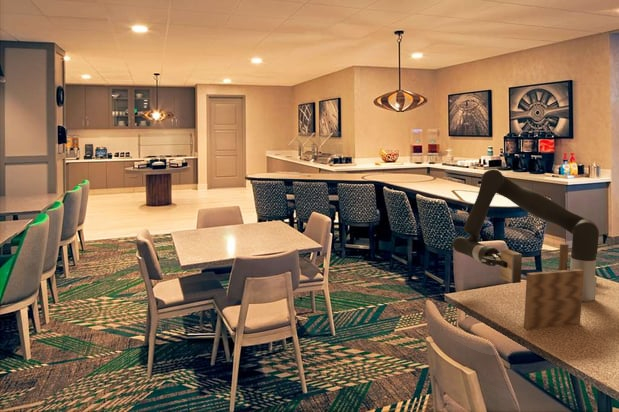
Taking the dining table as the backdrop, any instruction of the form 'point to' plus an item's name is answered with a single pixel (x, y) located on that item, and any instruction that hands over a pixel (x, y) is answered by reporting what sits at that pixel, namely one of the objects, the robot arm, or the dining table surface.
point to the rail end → (511, 266)
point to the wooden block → (563, 257)
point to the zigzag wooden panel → (553, 298)
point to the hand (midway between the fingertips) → (511, 264)
